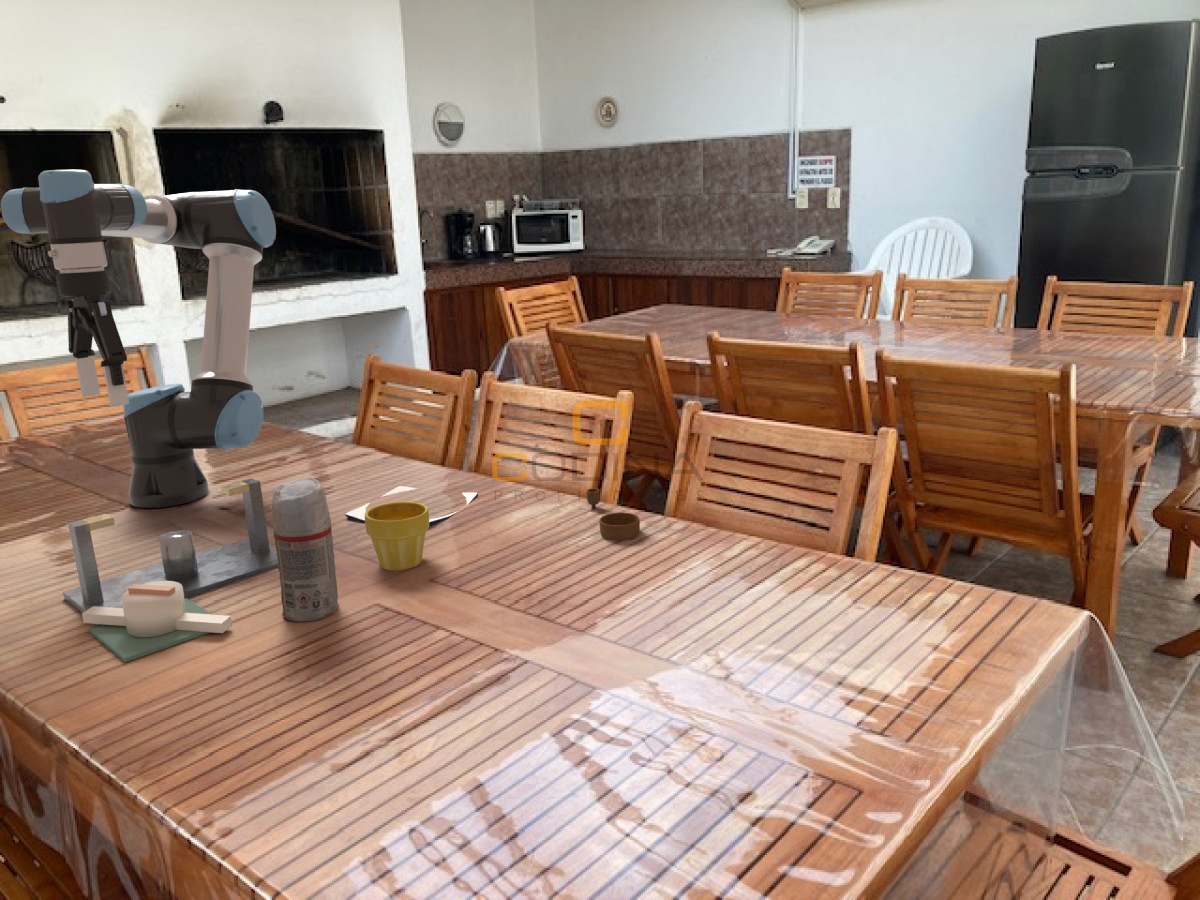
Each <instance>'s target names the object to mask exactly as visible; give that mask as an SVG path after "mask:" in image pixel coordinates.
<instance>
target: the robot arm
mask: <svg viewBox="0 0 1200 900" xmlns="http://www.w3.org/2000/svg"><path fill="white" fill-rule="evenodd" d="M38 185H39V187H27V186H26V187H22V188H15V189H9V190H8V191H7V192H5V193H4V195H3V196H2V199H1V202H0V208H1V215H2V218H3V220H4V223H5V224H6V226H8V228H9V229H10V230H12V231H13V232H16V233H18V234H23V235H25V234H28V235H29V234H30V235H37V234H39V235H40V234H48V240H49V245H50V250H48V252H47V254H48V256H49V257H50V258H52V262H53V266H54V269H55V270H58V271H59V273H57V274H56V275H55V279H56V280H55V281H56V284H57V289H58V294H59V296H61V298H62V297H63V298H72V299H66V300H65V305H66V310H67V311H66V312H67V335H68V336H67V337H68V349H67V350H68V352H69V353H70V354H72V356H73V358H75V359H74V360H75V365H76V372H77V377H78V381H79V386H80V387H79V388H80V391H81V392H80V393H81V397H82V398H85V397H86V398H88V397H93V396H99V395H101V391H100V389H101V388H100V385H99V384H100V383H99V379H98V373H97V368H96V363H95V357H94V356H96V353H95V351H94V349H92V345H93V340H94V342H95V344H96V347H97V349H98V351H99V353H100V355H101V357H102V360H101V361H100V367H101V368H102V369H103V375H104V380H105V385H106V386H105V387H106V390H107V396H108V401H109V407H111V408H112V407H117V406H122V408H123V419H124V422H125V423H124V424H125V428H126V432H127V439H128V444H129V450H130V455H131V461H132V472H131V476H130V483H129V488H128V498H129V504H130V505H131V506H132V507H134V508H135V507H136V508H145V509H150V508H153V509H155V508H157V509H158V508H165V507H166V508H167V507H173V506H178V505H183V504H187V503H191V502H194V501H197V500H199V499H201V498H203V497H205V496H207V495H208V494H209V492H210V489H209V483H208V482H209V481H208V479H207V477H206V476H205V474H204V472H203V471H202V469H201V467H200V464H199V463H198V461H197V460H196V457H195V451H194V450H217V449H218V450H219V449H220V450H223V451H224V450H225V451H227V450H232V449H233V450H234V449H243V448H246V447H248V446H250V445H251V444H252V443H253V442H254V441H255V440H256V439H257V438H258V436H259V433H260V431H261V429H262V425H263V422H264V406H262V405H263V401H262V398H261V397H260V395H259V394H258V393H257V392H256V391H254V384H253V383H252V382H251V380H249V379H248V378H247V366H248V351H249V341H250V340H249V339H250V325H251V324H250V323H251V313H252V300H253V299H252V297H253V284H254V272H255V271H254V269H255V265H257V264H259V262H261V261H262V260H263V251H264V250H263V249H265V248H269V247H271V246H273V244H274V242H275V241H276V235H277V229H276V228H277V226H276V220H275V216H274V214H273V211H272V209H271V206H270V204H269V202H268V201H267V199H266V198H265V197H264V196H263V195H262V194H261V193H260V192H258V191H256V190H252V189H238V188H235V189H234V190H233V189H230V190H214V191H213V190H212V191H211V190H210V191H208V190H207V191H190V192H189V191H188V192H182V193H176V194H175V193H174V194H167V195H155V194H151V195H146V196H143V194H142V193H141V191H139V189H137V188H136V187H133V186H132V185H128V184H121V183H119V182H118V183H94V181H93V178H92V175H91V173H90V172H89V171H88V170H85V169H55V170H54V169H53V170H52V169H51V170H43V171H42V172H40V174H39V175H38ZM103 237H118V238H120V237H121V238H137V239H142V240H144V241H145V242H147V243H149V244H156V245H167V246H172V247H173V246H174V247H179V248H187V249H195V250H196V249H197V250H199V249H201V250H202V253H203V254H204V255H205V256H206V257H207V258H208V260H209V263H208V276H207V285H206V286H207V290H206V299H205V314H204V326H203V327H204V329H203V338H202V339H203V340H202V350H201V351H202V353H201V363H200V364H201V365H200V373H199V374H197V375H196V376H195V377H193V378H192V379H191V386H190V391H186V389H185V387H184V385H183V384H182V383H169V384H164V385H159V386H153V387H149V388H145V389H140V390H136V391H134V392H131V393H128V387H127V383H126V377H125V371H124V365H123V364H124V362H126V361H128V356H127V354H126V349H125V348H124V345H123V342H122V339H121V336H120V334H119V331H118V327H117V324H116V320H115V319H114V315H113V311H112V304H111V302H110V301H102V298H101V296H102V295H107V294H111V292H112V286H111V280H110V274H109V272H108V271H107V270H106V269H105V267H107V266H108V260H107V254H106V248H105V244H104V243H105V242H104V241H103Z"/></svg>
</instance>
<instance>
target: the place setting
mask: <svg viewBox="0 0 1200 900" xmlns="http://www.w3.org/2000/svg"><path fill="white" fill-rule="evenodd" d="M600 494H601V493H600V489H599V488H595V487H594V488H588V489H586V502H587V503H588V504H589V505H590V506H591V509H594V510H595V509H596V507H597V506H596V505H598V504H599V503H600V501H601V500H600V499H601V498H600V497H601V495H600ZM598 521H599V532H600V536H601V537H602V538H603V539H605V540H607V541H614V542H622V541H629V540H634V539H635V538H637V537H638V536H639V535H640V531H641V527H640V526H641V525H640V517H639V516H638V515H637V514H634V513H631V512H630V513H629V512H612V513H608V514H605V515H602V516H601V517H600V518H599V520H598Z"/></svg>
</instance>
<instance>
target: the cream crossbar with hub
mask: <svg viewBox="0 0 1200 900" xmlns="http://www.w3.org/2000/svg"><path fill="white" fill-rule="evenodd" d="M121 600H122V606H123V608H111V607H97V606H93V607H91V608H90V609H88V610H86V611H85V612H83V613H81V615H82V616H81V617H82V621H83V624H93V625H96V624H105V625H119V626H126V629H127V632H128V634H130V635H132V636H135V637H154V636H160V635H164V634H167V633H170V632H173V631H175V630H187V631H201V632H211V633H215V634H219V633H220V634H224V633H225V632H226V631H228V629H230V628H231V627H232V626H233V623H232V616H231V615H225V614H224V615H222V614H212V613H211V614H212V615H211V614H197V613H186V606H185V600H184V593H183V587H182V585H181V584H180V583H178V582H174V581H155V582H149V583H145V584H133V585H132V586H130V587H129V588H128V590H127V591H126V592H125V593H124V594H123V595H122V597H121Z"/></svg>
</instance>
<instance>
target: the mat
mask: <svg viewBox="0 0 1200 900" xmlns="http://www.w3.org/2000/svg"><path fill="white" fill-rule="evenodd" d="M184 600H185V606H186V613H197V614H211V615H213V613H211V612H209V611H208V610H206V609H204V608H203V607H201V606H200V605H198V604H197V603H195V602H194V601H192V600H190V598H185V599H184ZM89 633H90V634H91V635H93V636H94V637H95V638H96V639H97V640H98V641H99V642H101V643H102V644H103V645H104V646H105V647H106V648H107V649H109V650H110V651H111V652H112V653H113V654H115V655H116V656H117V657H118V658H119V659H120V660H122V661H123V662H124V663H127V662H130V661H133V660H135V659H139V658H142V657H144V656H147V655H150V654H153V653H155V652H159V651H162V650H164V649H168V648H170V647H173V646H176V645H178V644H182V643H184V642H187V641H191V640H194V639H197V638H199V637H202V636H205V635H207V634H211V633H212V632H201V631H187V630H175V631H173V632H170V633H167V634H164V635H160V636H154V637H135V636H132V635H130V634H128V632H127V629H126V626H119V625H105V624H103V625H100V626H97V625H96V626H94V627H91V628H89Z"/></svg>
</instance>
